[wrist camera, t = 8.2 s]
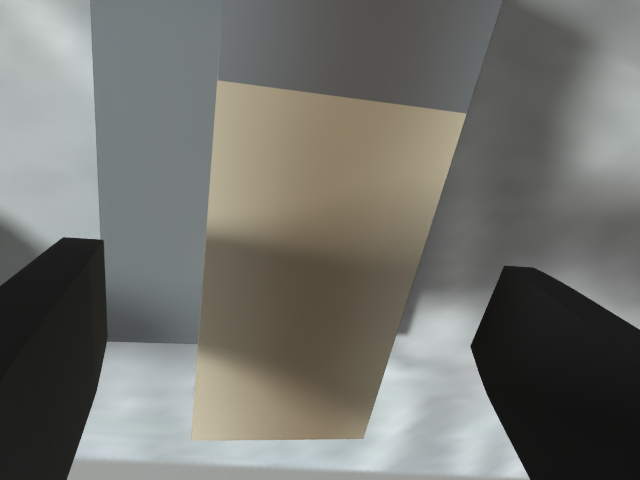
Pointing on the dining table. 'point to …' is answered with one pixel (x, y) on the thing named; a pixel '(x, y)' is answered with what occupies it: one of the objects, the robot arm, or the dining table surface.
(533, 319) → the robot arm
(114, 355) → the dining table surface
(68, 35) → the dining table surface
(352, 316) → the capped box
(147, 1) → the slate board
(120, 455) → the dining table surface
